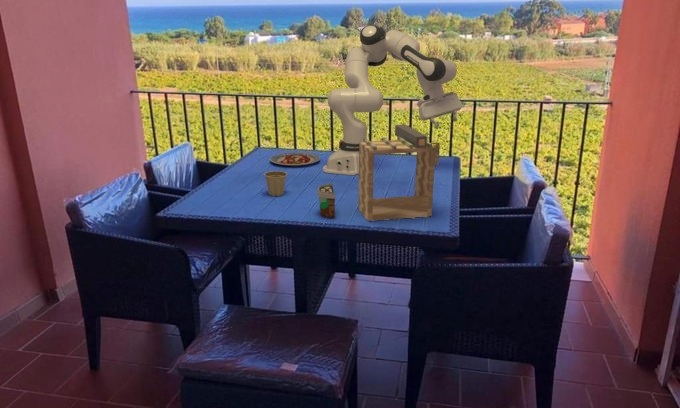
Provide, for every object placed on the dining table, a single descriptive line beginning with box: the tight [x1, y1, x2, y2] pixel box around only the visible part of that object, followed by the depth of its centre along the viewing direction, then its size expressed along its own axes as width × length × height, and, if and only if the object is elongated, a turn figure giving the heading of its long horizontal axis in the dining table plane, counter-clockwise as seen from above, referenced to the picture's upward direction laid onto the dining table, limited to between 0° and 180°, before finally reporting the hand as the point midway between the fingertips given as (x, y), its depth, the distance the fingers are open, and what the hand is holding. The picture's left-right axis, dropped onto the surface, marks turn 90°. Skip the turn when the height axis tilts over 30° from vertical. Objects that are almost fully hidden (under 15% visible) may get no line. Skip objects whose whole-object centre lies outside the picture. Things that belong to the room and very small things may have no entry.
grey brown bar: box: [394, 124, 428, 148], centre depth 189 cm, size 24×4×4 cm, turn 12°
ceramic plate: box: [269, 151, 321, 167], centre depth 265 cm, size 26×26×3 cm
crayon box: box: [430, 142, 441, 166], centre depth 259 cm, size 7×3×12 cm, turn 98°
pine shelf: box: [357, 136, 436, 222], centre depth 189 cm, size 14×24×27 cm, turn 102°
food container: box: [316, 183, 336, 219], centre depth 190 cm, size 12×6×10 cm, turn 5°
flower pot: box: [263, 170, 288, 197], centre depth 213 cm, size 9×9×9 cm
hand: (446, 123), depth 236 cm, fingers open, 8 cm apart
